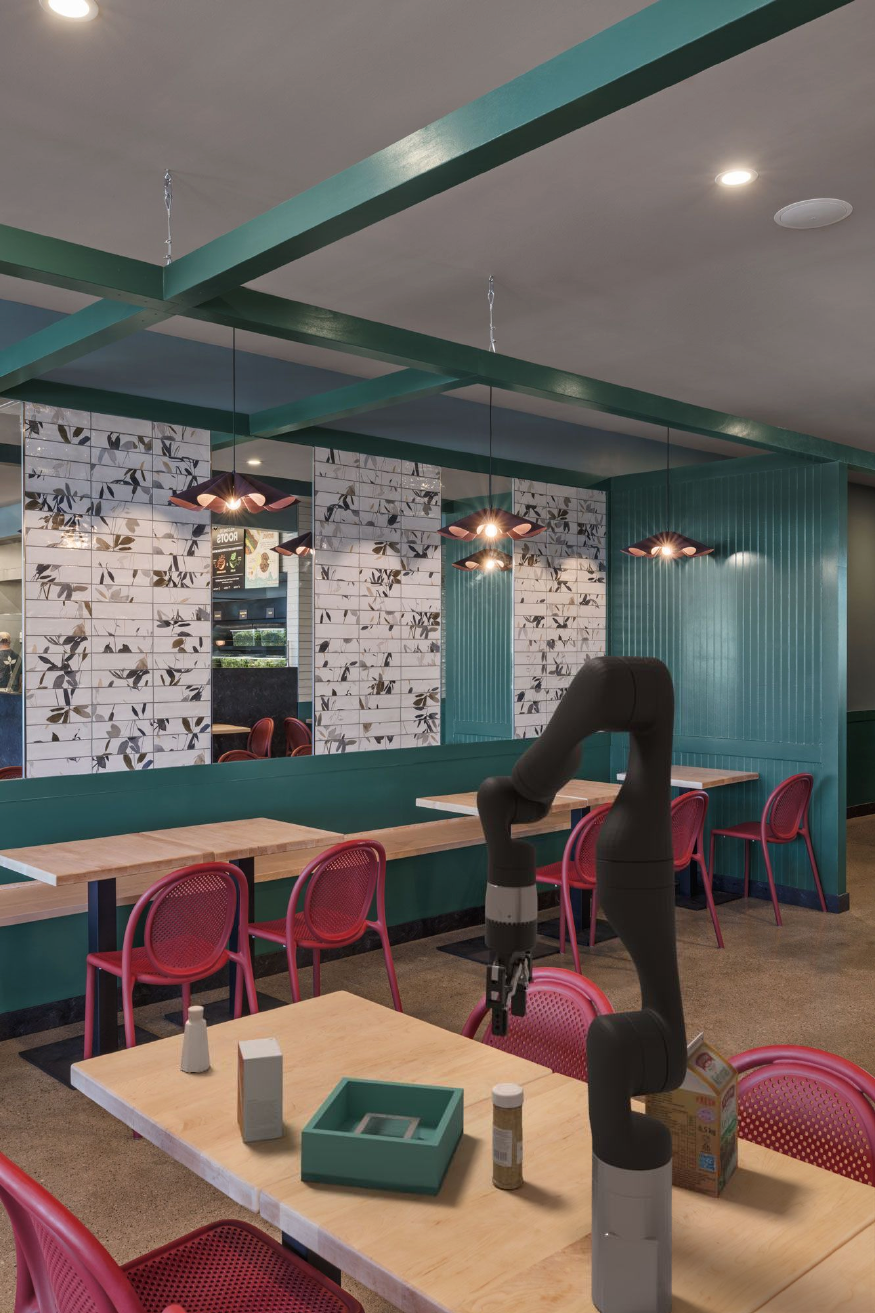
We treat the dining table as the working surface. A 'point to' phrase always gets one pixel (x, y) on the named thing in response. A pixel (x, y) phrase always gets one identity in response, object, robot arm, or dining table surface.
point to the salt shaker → (195, 1042)
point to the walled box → (383, 1137)
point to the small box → (260, 1089)
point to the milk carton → (701, 1121)
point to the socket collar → (390, 1126)
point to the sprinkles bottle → (507, 1135)
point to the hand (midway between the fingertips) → (509, 1025)
